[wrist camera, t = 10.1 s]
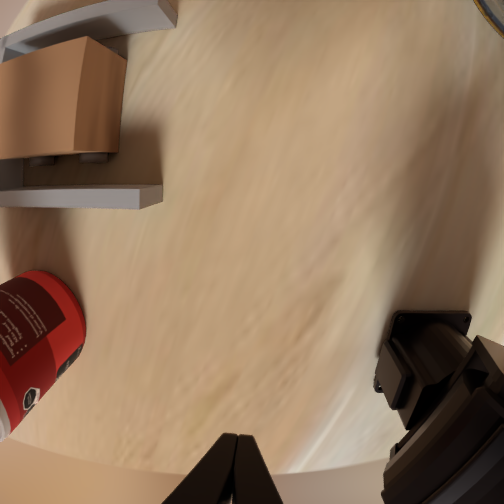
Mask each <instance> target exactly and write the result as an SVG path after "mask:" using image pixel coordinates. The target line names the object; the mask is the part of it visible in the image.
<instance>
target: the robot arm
mask: <svg viewBox="0 0 504 504" xmlns="http://www.w3.org/2000/svg"><path fill="white" fill-rule="evenodd" d="M401 316H402V319H401V320H400V321H398V318H399V317H401ZM465 317H466V319H465V320H464V318H465ZM471 319H472V316H471V314H470V313H469V312H467V311H407V310H400V311H397V312H395V313H394V314H393V317H392V320H391V324H390V329H389V332H388V336H387V340H386V341H385V342H384V343H383V345H382V349H381V353H380V356H379V360H378V363H377V367H376V370H375V374H376V378H375V382H374V386H373V387H374V389H375V392H377V393H384V395H385V397H386V400H387V402H388V404H389V407H390V408H391V409H392V410H397V411H398V413H399V415H400V418H401V420H402V422H403V425H404V427H405V429H406V430H410V431H409V432H408V433H407V434H406V435H405V436H404V437H403V439H402V440H401V441H400V442H399V443H396V444H395V445H394V446H393V447H392V448H391V450H390V461H389V462H388V463H387V465H386V468H385V471H384V474H383V477H384V490H382V492H381V496H382V499H383V501H384V504H504V346H502V345H500V344H498V343H496V342H493V341H491V340H489V339H486V338H484V337H482V336H479V335H476V337H475V339H474V340H473V342H472V341H471V340H470V339H469V338H468V337H467V336H466V335H467V332H468V329H469V326H470V323H471ZM380 385H381V387H379V386H380ZM231 500H232V504H283V501H282V499H281V497H280V495H279V493H278V491H277V489H276V486H275V484H274V482H273V480H272V477H271V475H270V473H269V471H268V468H267V466H266V464H265V462H264V459H263V457H262V455H261V452H260V450H259V448H258V445H257V443H256V441H255V438H254V437H253V436H252V435H244V434H240V435H239V436H238V435H237V434H234V433H223V434H222V435H221V436H220V437H219V438H218V440H217V441H216V442H215V443H214V444H213V446H212V447H211V448H210V449H209V450H208V452H207V453H206V454H205V455H204V456H203V458H202V459H201V460H200V461H199V462H198V463H197V465H196V466H195V467H194V468H193V469H192V470H191V471H190V473H189V474H188V475H187V476H186V477H185V478H184V479H183V481H182V482H181V483H180V484H179V485H178V486H177V487H176V488H175V489H174V491H173V492H172V493H171V494H170V495H169V496H168V497H167V498H166V499H165V500H164V501H163V502H162V504H230V503H231Z"/></svg>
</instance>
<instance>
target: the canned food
mask: <svg viewBox="0 0 504 504" xmlns="http://www.w3.org/2000/svg"><path fill="white" fill-rule="evenodd" d="M85 337H86V326H85V320H84V316H83V313H82V310H81V308H80V306H79V304H78V301H77V300H76V298H75V296H74V295H73V293H72V292H71V290H70V289H69V288H68V287H67V286H66V284H64V283H63V282H62V281H61V280H60V279H59V278H57V277H56V276H54V275H53V274H51V273H48V272H46V271H28V272H25V273H23V274H21V275H19V276H17V277H15V278H13V279H11V280H9V281H7V282H5V283H3V284H1V285H0V442H2V441H3V440H4V439H5V438H6V437H8V436H9V435H10V433H11V432H12V431H13V430H14V429H15V428H16V427H17V426H18V425H19V423H20V422H21V421H22V420H23V419H24V417H25V416H26V415H27V414H28V413H29V412H30V410H31V409H32V408H33V407H34V406H35V405H36V403H37V402H38V401H39V400H40V399H41V398H42V397H43V395H44V394H45V393H46V392H47V391H48V390H49V389H50V388H51V386H52V385H53V384H54V383H55V382H56V381H57V380H58V379H59V377H60V376H61V375H62V374H63V373H64V372H65V371H66V370H67V369H68V367H69V366H70V365H71V364H72V363H73V362H74V361H75V360H76V359H77V358H78V356H79V355H80V353H81V350H82V348H83V345H84V343H85Z"/></svg>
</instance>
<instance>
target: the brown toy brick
mask: <svg viewBox="0 0 504 504" xmlns="http://www.w3.org/2000/svg"><path fill="white" fill-rule="evenodd" d="M126 66H127V60H125V59H124V58H122V57H121V56H119V55H118V50H117V49H115V48H112V47H105V46H103V45H101V44H100V43H98V42H97V41H95V40H93V39H92V38H90V37H88V36H85V37H81V38H77V39H73V40H69V41H66V42H62V43H59V44H55V45H52V46H49V47H45V48H42V49H39V50H36V51H33V52H30V53H27V54H24V55H22V56H19V57H16V58H14V59H11V60H8V61H6V62H3V63H1V64H0V159H16V158H30V163H29V166H42V165H54V156H60V155H74V154H80V156H79V163H98V162H107V161H108V153H113V152H118V151H119V134H120V121H121V109H122V99H123V90H124V82H125V74H126Z"/></svg>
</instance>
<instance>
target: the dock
mask: <svg viewBox="0 0 504 504" xmlns="http://www.w3.org/2000/svg"><path fill="white" fill-rule="evenodd" d="M177 16H178V15H177V14H176V12H175V11H174V9H173V8H172V6H171V5H170V4H169V2H168V1H167V0H108V1H104V2H100V3H96V4H92V5H88V6H85V7H81V8H78V9H75V10H72V11H68V12H65V13H62V14H59V15H56V16H53V17H51V18H48V19H45V20H43V21H40V22H37V23H35V24H32V25H30V26H27V27H25V28H23V29H20V30H18V31H16V32H13V33H11V34H9V35H7V36H5V37H2V38H0V64H1V63H3V62H6V61H8V60H11V59H14V58H16V57H19V56H22V55H24V54H27V53H30V52H33V51H36V50H39V49H42V48H45V47H49V46H52V45H55V44H59V43H62V42H66V41H69V40H73V39H77V38H81V37H85V36H88V37H90V38H92V39H93V40H100V39H105V38H110V37H115V36H121V35H126V34H132V33H139V32H146V31H154V30H162V29H172V28H176V23H177ZM23 164H24V158H16V159H0V207H66V208H109V209H142V208H145V207H148V206H151V205H154V204H157V203H160V202H162V197H163V185H146V184H86V185H47V186H24V187H23Z"/></svg>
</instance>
